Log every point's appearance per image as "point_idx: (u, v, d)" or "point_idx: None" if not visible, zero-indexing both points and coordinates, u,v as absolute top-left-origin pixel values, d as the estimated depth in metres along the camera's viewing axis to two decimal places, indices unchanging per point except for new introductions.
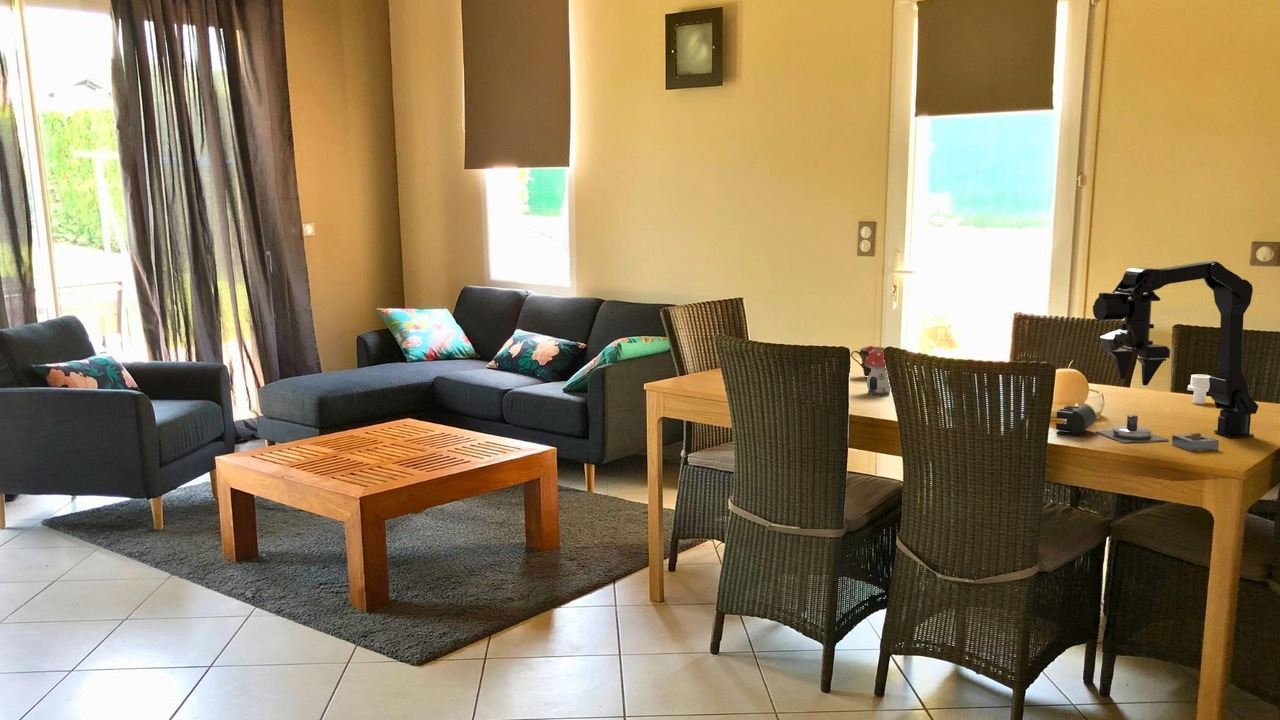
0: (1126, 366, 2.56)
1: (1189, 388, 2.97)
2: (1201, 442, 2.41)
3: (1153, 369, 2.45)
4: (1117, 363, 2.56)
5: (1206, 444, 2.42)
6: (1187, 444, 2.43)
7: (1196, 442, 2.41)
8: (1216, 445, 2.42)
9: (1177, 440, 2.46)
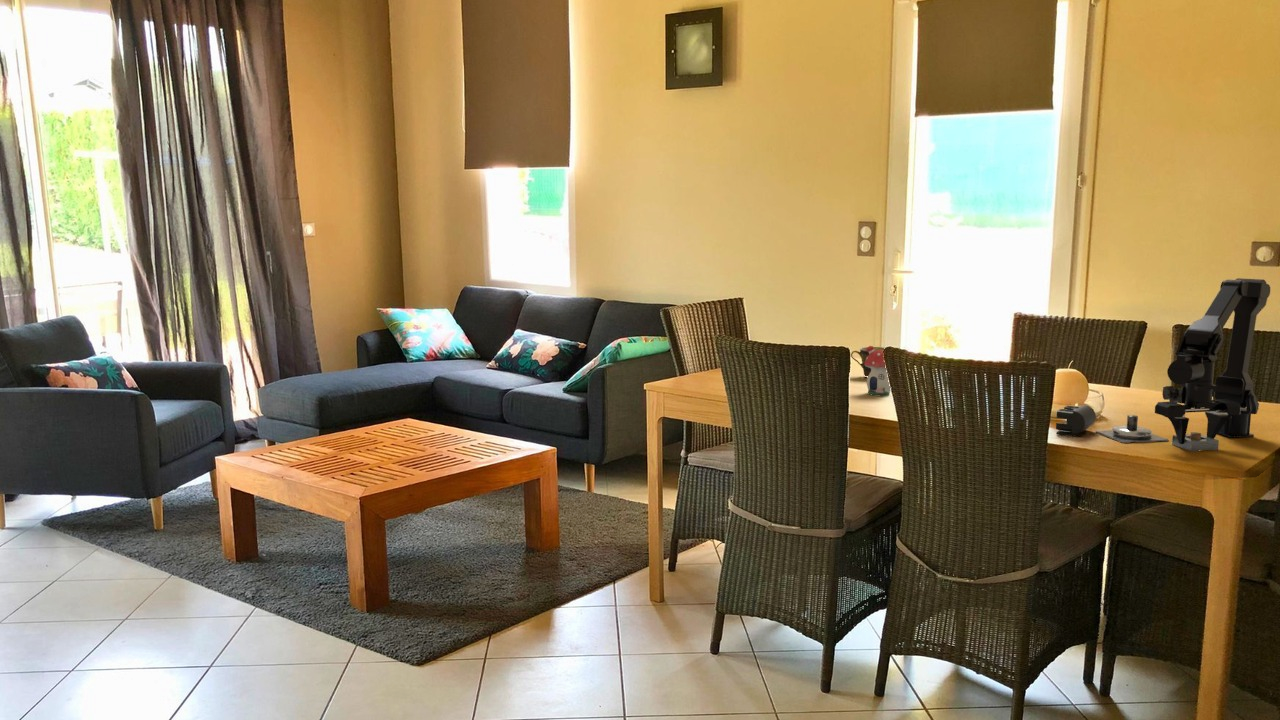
0: (1212, 430, 2.44)
1: None
2: (1201, 442, 2.41)
3: (1180, 428, 2.43)
4: None
5: (1206, 444, 2.42)
6: (1187, 444, 2.43)
7: (1196, 442, 2.41)
8: (1216, 445, 2.42)
9: (1177, 440, 2.46)
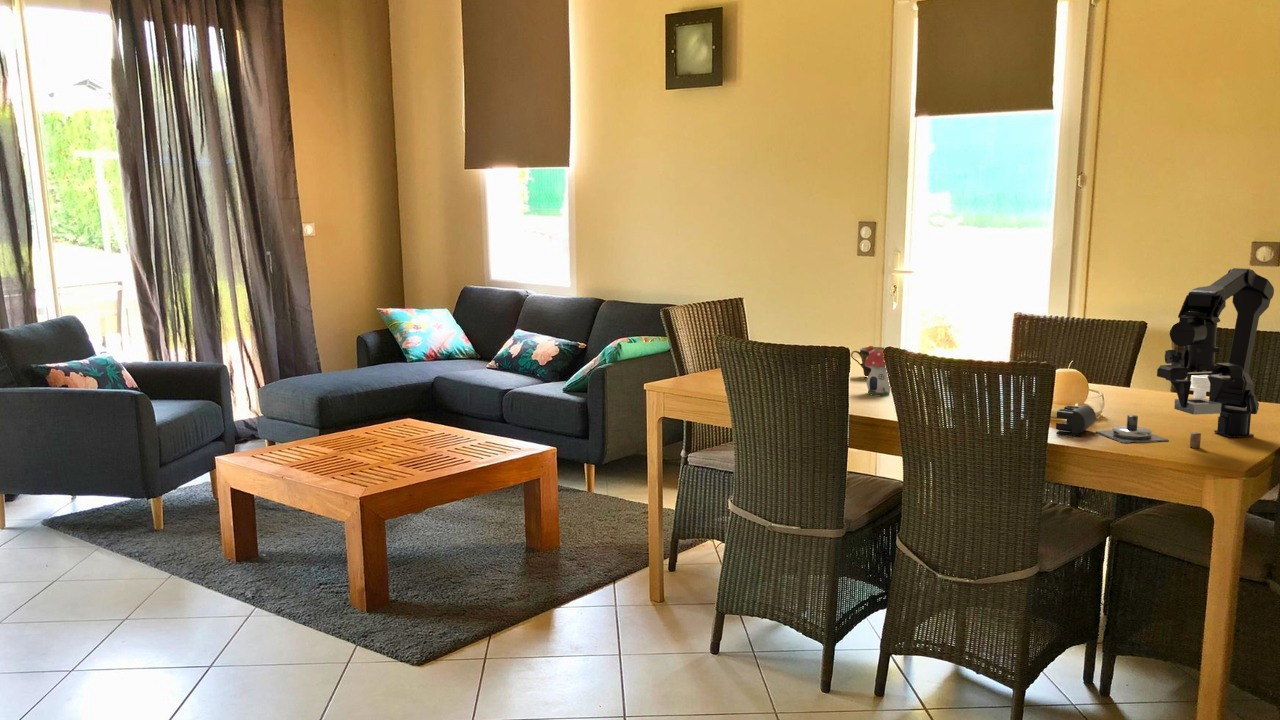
0: (1215, 394, 2.43)
1: None
2: (1204, 405, 2.40)
3: (1182, 391, 2.41)
4: None
5: (1209, 407, 2.40)
6: (1189, 407, 2.41)
7: (1198, 405, 2.40)
8: (1219, 408, 2.41)
9: (1179, 404, 2.45)
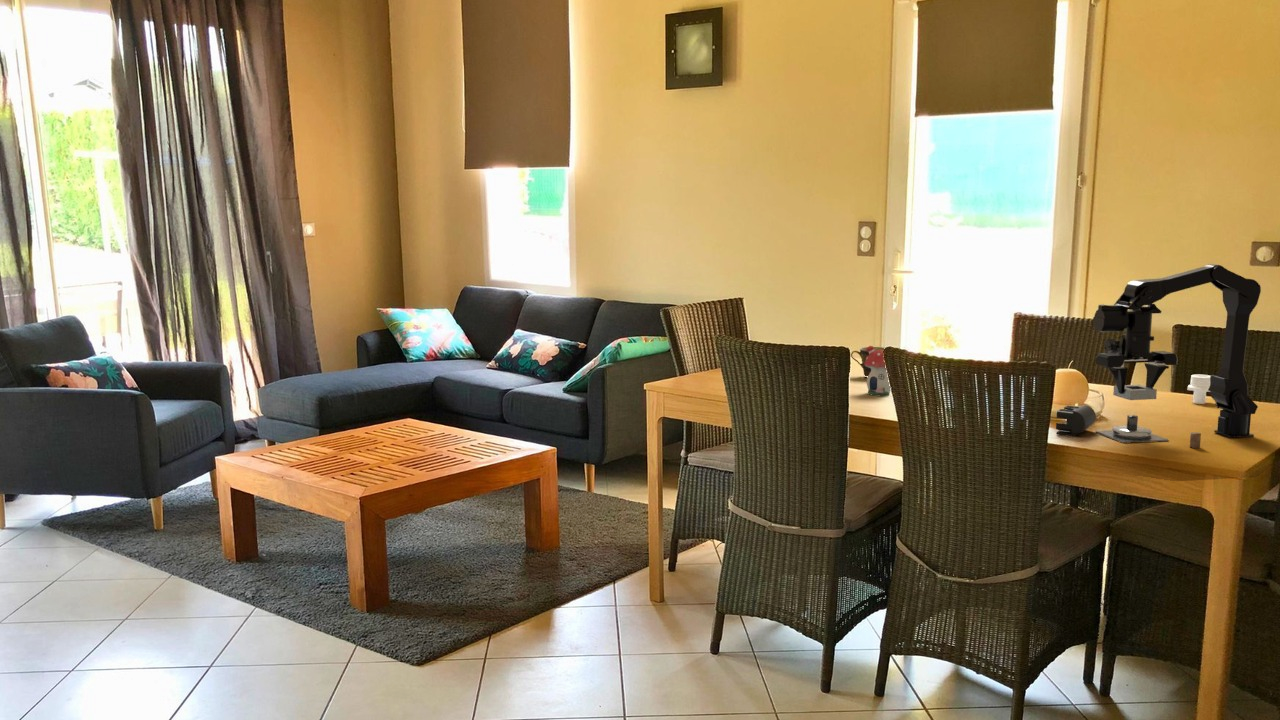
0: (1151, 380, 2.54)
1: (1189, 388, 2.97)
2: (1140, 391, 2.51)
3: (1119, 378, 2.53)
4: None
5: (1144, 393, 2.52)
6: (1126, 393, 2.53)
7: (1135, 391, 2.51)
8: (1154, 394, 2.52)
9: None
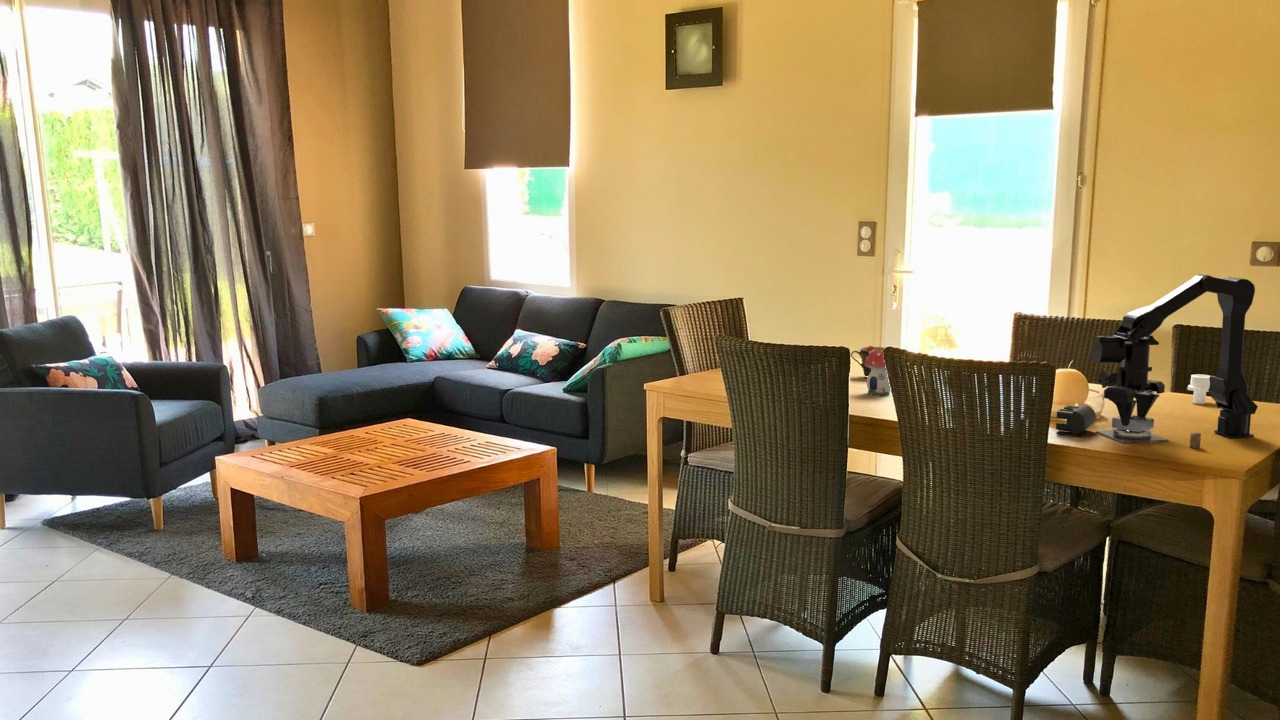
0: (1144, 410, 2.57)
1: (1189, 388, 2.97)
2: (1144, 422, 2.53)
3: (1126, 411, 2.52)
4: None
5: (1147, 423, 2.54)
6: (1133, 425, 2.53)
7: (1141, 422, 2.52)
8: (1152, 423, 2.55)
9: (1119, 422, 2.56)
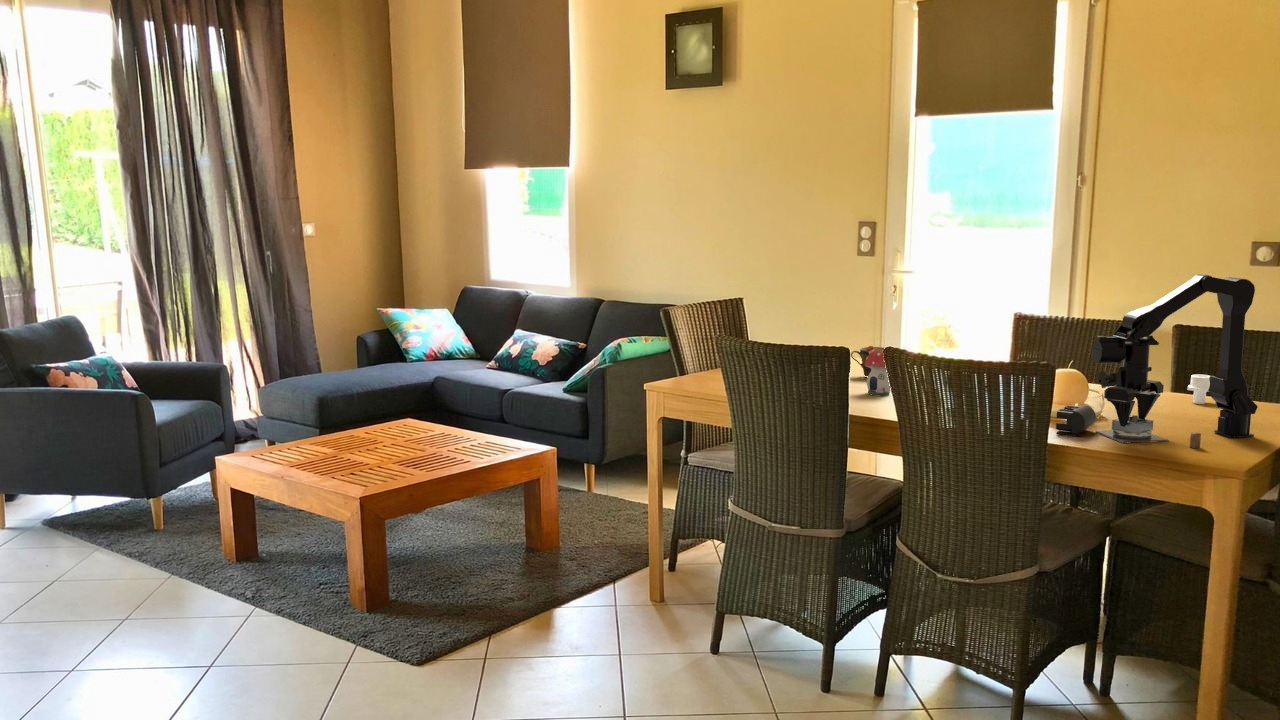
0: (1145, 409, 2.58)
1: (1189, 388, 2.97)
2: (1144, 424, 2.53)
3: (1125, 411, 2.51)
4: None
5: (1147, 425, 2.54)
6: (1133, 427, 2.53)
7: (1142, 424, 2.52)
8: (1152, 425, 2.56)
9: (1119, 424, 2.56)
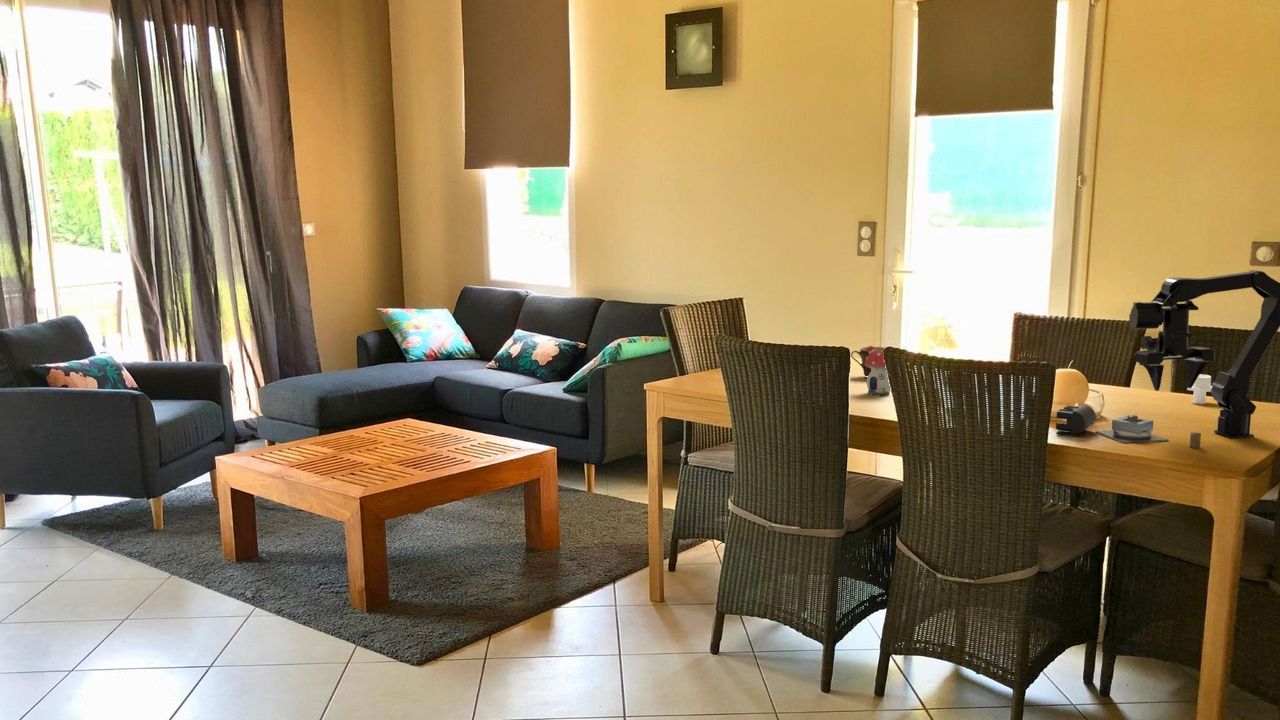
0: (1192, 376, 2.57)
1: (1189, 388, 2.97)
2: (1144, 424, 2.53)
3: (1155, 375, 2.55)
4: None
5: (1147, 425, 2.54)
6: (1133, 427, 2.53)
7: (1142, 424, 2.52)
8: (1152, 425, 2.56)
9: (1119, 424, 2.56)
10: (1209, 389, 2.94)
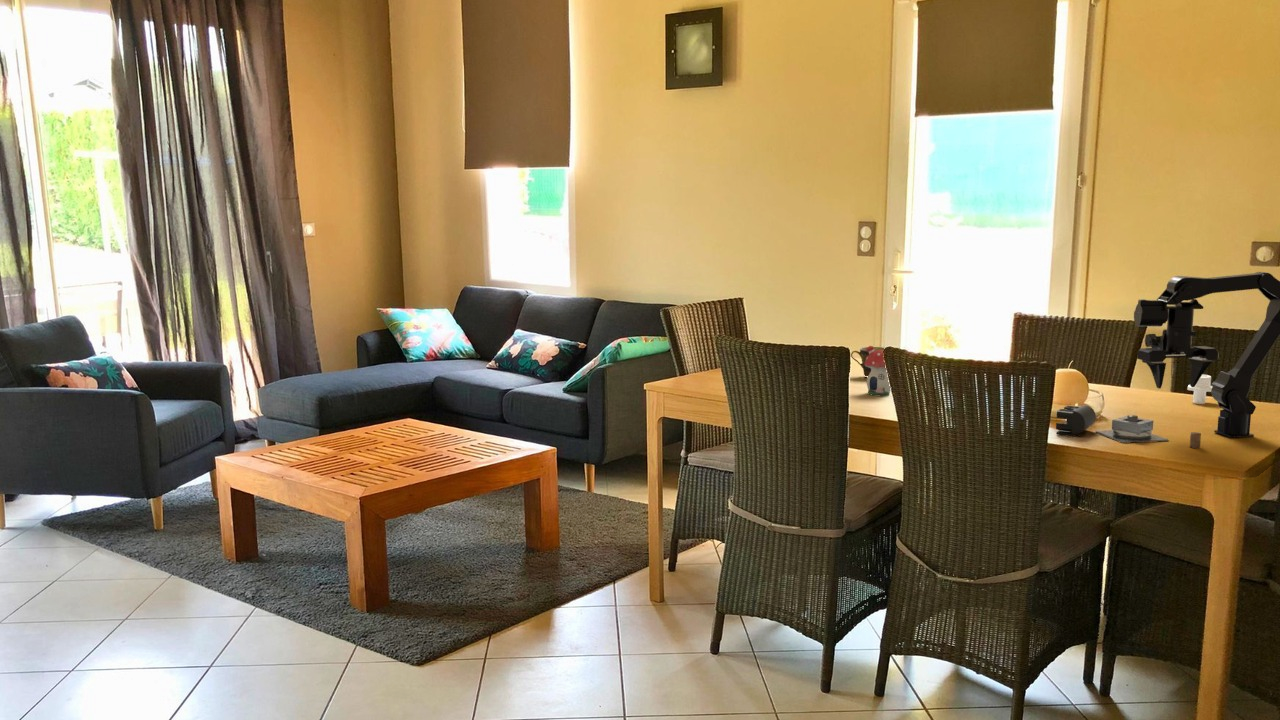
0: (1195, 375, 2.57)
1: (1189, 388, 2.97)
2: (1144, 424, 2.53)
3: (1157, 373, 2.55)
4: None
5: (1147, 425, 2.54)
6: (1133, 427, 2.53)
7: (1142, 424, 2.52)
8: (1152, 425, 2.56)
9: (1119, 424, 2.56)
10: (1209, 389, 2.94)
